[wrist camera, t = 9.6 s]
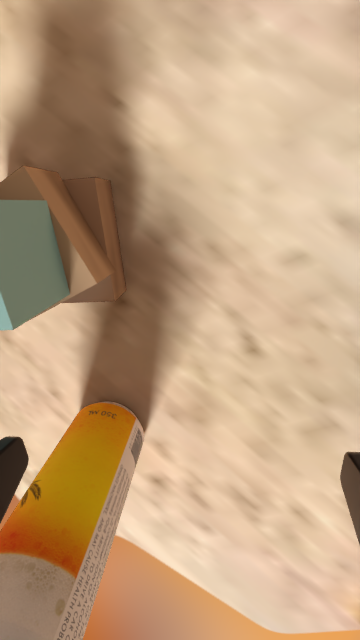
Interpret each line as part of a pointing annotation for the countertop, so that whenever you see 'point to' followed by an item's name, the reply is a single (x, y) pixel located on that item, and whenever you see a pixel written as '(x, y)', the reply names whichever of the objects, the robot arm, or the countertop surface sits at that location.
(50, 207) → the slab upper
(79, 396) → the countertop surface
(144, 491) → the countertop surface
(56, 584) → the beer can
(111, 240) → the slab lower
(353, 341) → the countertop surface
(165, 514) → the countertop surface
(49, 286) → the teal cube
